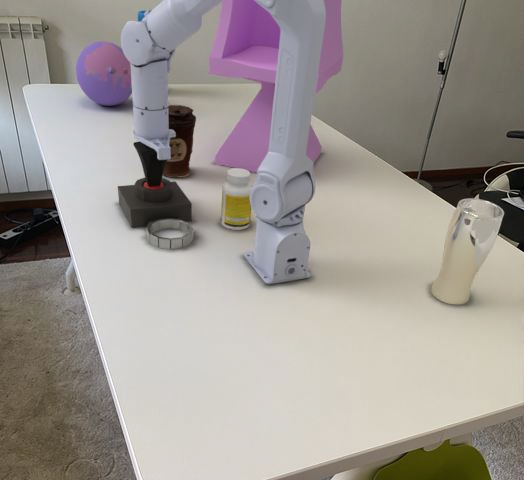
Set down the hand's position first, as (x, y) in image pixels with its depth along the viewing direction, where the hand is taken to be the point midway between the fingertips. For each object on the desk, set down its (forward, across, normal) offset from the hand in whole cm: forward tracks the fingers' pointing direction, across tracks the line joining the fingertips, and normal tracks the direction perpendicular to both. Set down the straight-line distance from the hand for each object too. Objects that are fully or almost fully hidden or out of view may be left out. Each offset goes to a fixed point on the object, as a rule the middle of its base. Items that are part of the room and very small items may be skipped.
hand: (153, 184), depth 98 cm
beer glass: (+6, -40, -37) cm, 55 cm away
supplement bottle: (+6, -8, -13) cm, 16 cm away
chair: (+6, +20, -34) cm, 40 cm away
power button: (+2, 0, 0) cm, 2 cm away
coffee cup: (+6, +17, -9) cm, 20 cm away
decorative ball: (+6, +65, -6) cm, 65 cm away
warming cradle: (+5, -10, 0) cm, 11 cm away
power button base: (+5, 0, 0) cm, 5 cm away
